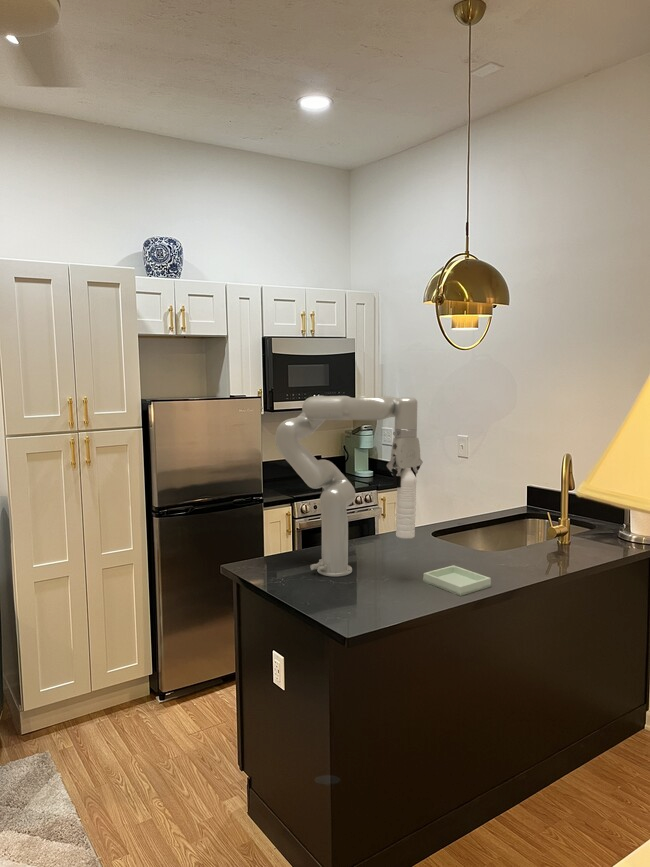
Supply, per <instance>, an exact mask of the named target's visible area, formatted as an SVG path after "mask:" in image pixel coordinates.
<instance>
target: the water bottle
mask: <svg viewBox="0 0 650 867" xmlns="http://www.w3.org/2000/svg"><path fill="white" fill-rule="evenodd" d="M399 476H401V487H400V488H398V487H396V488H397V489H396V490H397V491H396V492H397V493H396V516H395V517H396V518H395V519H396V521H395V522H396V523H395V528H396V529H395V536H396V537H397V538H399V539H413V538H415V536H416V530H415V529H416V510H417V509H416V506H417V501H416V499H417V498H416V497H417V496H416V495H417V476H416V477H415V475H414V473H413V472H412V470H411V467H410V468H402V469H401V472H400V475H399Z"/></svg>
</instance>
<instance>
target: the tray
mask: <svg viewBox="0 0 650 867" xmlns="http://www.w3.org/2000/svg"><path fill="white" fill-rule="evenodd" d="M422 575H423V577H422V581H423V583H425V584H429V585H430V586H431V585H432V586H434V587H436V588H438V589H441V590H444V591H445V592H446V591H447V592H450V593H452V594H454V595H456V594H457V595H456V596H459V597H462V596H465V595H469V594H472V593H474V592H478V591H481V590H484V589H487V588H491V586H492V578H491V577H489V576H486V575H483V574H481V573H478V572H474V571H471V570H469V569H465V568H463V567H459V566H457V565H455V564H453V565H449V566H446V567H442V568H438V569H435V570H429V571H427V572H424V573H423V574H422Z"/></svg>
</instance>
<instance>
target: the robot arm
mask: <svg viewBox="0 0 650 867" xmlns="http://www.w3.org/2000/svg"><path fill="white" fill-rule="evenodd" d="M301 405H302V407H301V410H302V412H301V413H300V414H299V415H297V417H292V418H287V419H286V420H284V421H282V422H280V423H279V425H278V426H277V428H276V430H275V431H276V432H275V438H274V439H275V441H274V442H275V445H276V448H277V450H278V452H279V453H280V454H281V456H282V457H283V458H284V459H285V461H286V462H287V463H288V464H289V465H290V466H291V467H292V469H293V470H294V471H295V472H296V474H297V475H298V476H299V477H300V478H301V479H302V480H303V482H304V483H305V484H306V485H307V487H309V488H311V489H316V490H317V489H321V488H322V489H323V491H322V492H321V494H320V496H319V508H320V516H321V517H320V518H321V559H318V562H317V563H313V564H310V570H311V571H314V570H317V572H318V574H320V575H321V576H327V577H335V578H336V577H345V576H348V575H350V574H351V573H352V572H353V568H352V566H351V565H349V518H348V512H347V507H348V506H350V505H351V504H353V502H354V500H355V499H356V490H355V487H354V486H353V485H352V483H351V481H350V480H349V479H348V477H346V476H345V474H344V473H342V472H341V470H340V469H339V468H338V467H337V466H336V464H334V463H333V462H332V461H330V460H327V459H317V458H316V457H315V456H314V455H313V454H312V452H311V451H310V450H309V449H308V448H307V447H306V446H305V445H303V444H302V443H301V442H300V441H302V440H305V439H307V438H309V437H311V435H312V434H314V432H316V430H318V428H319V427H320V426H321V425H322V424H323V423H324V422H325V421H383V420H386V419H390V418H394V431H393V432H392V435H393V436H394V437H393V439H392V444H391V450H390V451H391V452H390V460H389V461H388V462H387V464H386V468H387V469H388V470H389V472H390V473H391V475H392V487H394V488H397V487H398V488H400V487H401V476H399V475H400V473H401V472H402V470H403V469H404V468H410V467H411V470H412V472H413V473H414V475H415V477H416V478H417V474H418V473H419V470H420V468H421V466H422V464H423V460H422V459H421V444H420V440H419V437H417V436H418V435H417V434H418V400H417V399H416V398H415V397H394V396H388V395H385V396H378V397H365V398H364V397H351V396H348V395H329V396H328V395H313V396H309V397H308V398H306V399H305V400H304V401H303V403H302V404H301Z"/></svg>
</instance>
